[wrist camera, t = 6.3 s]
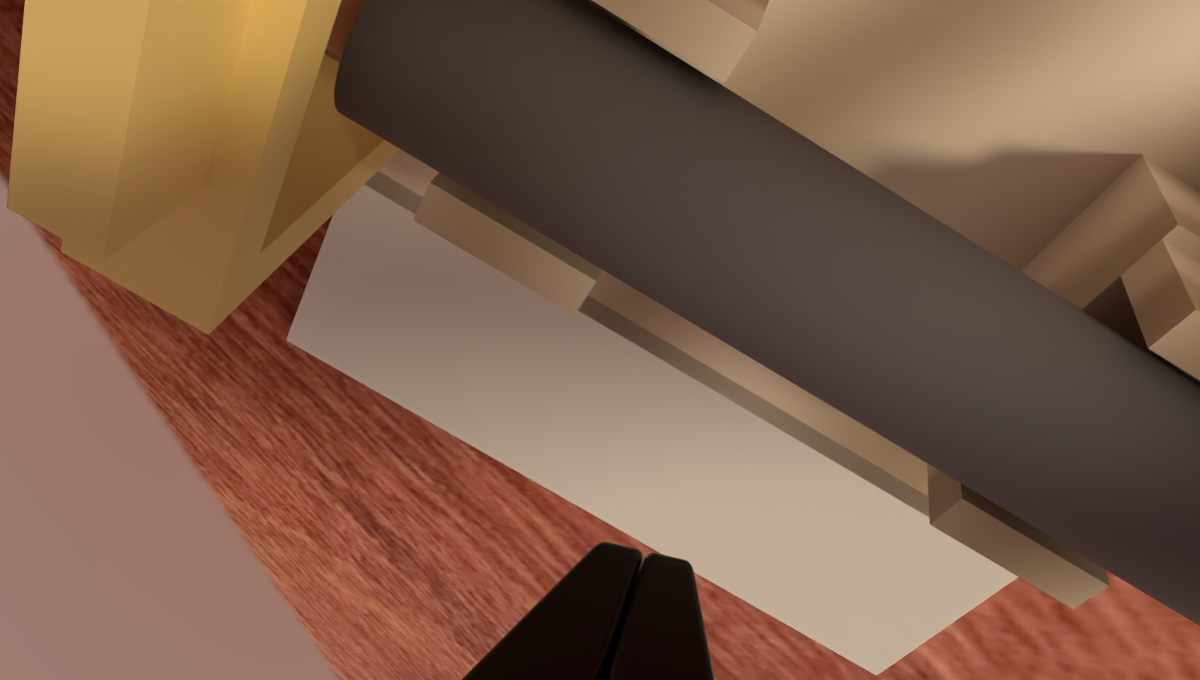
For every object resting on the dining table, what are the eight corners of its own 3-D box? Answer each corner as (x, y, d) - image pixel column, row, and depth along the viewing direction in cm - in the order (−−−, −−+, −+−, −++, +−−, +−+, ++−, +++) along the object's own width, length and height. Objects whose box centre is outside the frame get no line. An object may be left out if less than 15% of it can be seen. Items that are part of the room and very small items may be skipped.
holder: (1578, 188, 15) (1829, 377, 11) (1038, 564, 23) (1070, 763, 18) (391, -618, 13) (166, -750, 9) (219, 80, 21) (51, 181, 16)
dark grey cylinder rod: (1405, 477, 15) (1506, 635, 13) (1237, 575, 17) (1296, 729, 15) (378, -169, 14) (262, -134, 11) (319, 20, 16) (209, 87, 13)
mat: (1036, 543, 22) (1039, 562, 22) (876, 657, 26) (876, 675, 25) (366, 146, 21) (354, 157, 20) (297, 327, 24) (285, 340, 24)
